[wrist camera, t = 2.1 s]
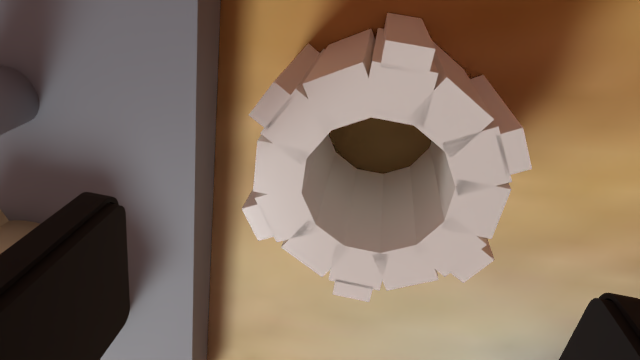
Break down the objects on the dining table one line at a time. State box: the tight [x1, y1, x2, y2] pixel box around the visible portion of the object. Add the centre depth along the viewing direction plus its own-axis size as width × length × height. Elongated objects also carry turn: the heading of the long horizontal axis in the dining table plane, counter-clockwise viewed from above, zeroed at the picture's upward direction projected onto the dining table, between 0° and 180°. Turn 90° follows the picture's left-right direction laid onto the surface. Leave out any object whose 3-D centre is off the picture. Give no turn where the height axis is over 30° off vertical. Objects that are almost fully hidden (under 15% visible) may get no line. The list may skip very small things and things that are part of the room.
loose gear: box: [242, 13, 532, 302], centre depth 14 cm, size 7×7×5 cm
